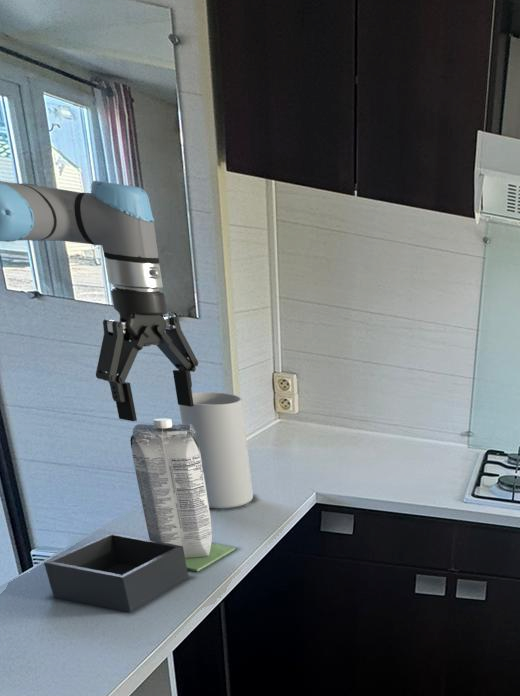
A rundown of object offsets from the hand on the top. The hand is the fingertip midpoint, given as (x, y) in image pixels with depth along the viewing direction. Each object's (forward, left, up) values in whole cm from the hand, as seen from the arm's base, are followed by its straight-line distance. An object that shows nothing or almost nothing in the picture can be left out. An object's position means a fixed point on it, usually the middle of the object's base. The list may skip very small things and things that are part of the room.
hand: (158, 412), depth 115 cm
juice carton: (0, 0, -29) cm, 29 cm away
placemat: (0, 0, -29) cm, 29 cm away
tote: (0, -15, -29) cm, 33 cm away
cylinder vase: (-12, +28, -29) cm, 42 cm away
